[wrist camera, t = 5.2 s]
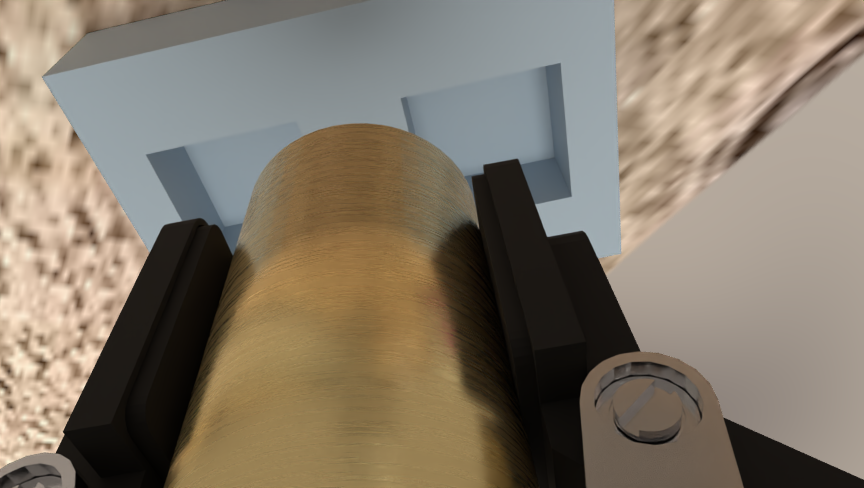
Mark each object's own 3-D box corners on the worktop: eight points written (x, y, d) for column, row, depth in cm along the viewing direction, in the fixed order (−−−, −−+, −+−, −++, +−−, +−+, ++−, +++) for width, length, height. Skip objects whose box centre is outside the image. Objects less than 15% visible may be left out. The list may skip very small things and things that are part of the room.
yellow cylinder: (213, 149, 10) (-65, 779, 4) (458, 101, 10) (601, 680, 4) (289, 326, 13) (198, 898, 6) (489, 290, 12) (608, 842, 6)
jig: (87, 33, 23) (41, 76, 20) (578, -84, 22) (612, -56, 19) (220, 276, 31) (201, 336, 27) (594, 199, 29) (621, 253, 26)
